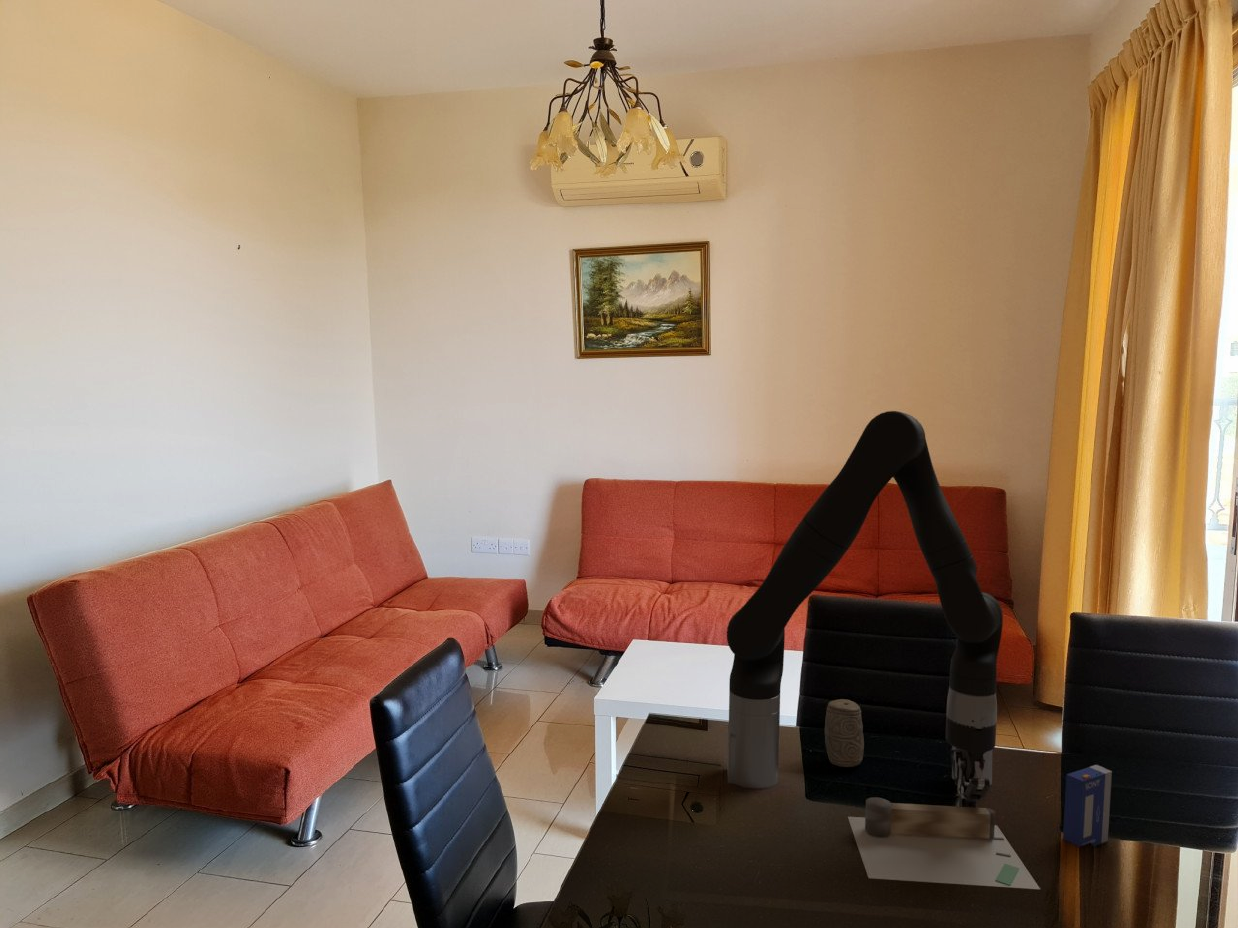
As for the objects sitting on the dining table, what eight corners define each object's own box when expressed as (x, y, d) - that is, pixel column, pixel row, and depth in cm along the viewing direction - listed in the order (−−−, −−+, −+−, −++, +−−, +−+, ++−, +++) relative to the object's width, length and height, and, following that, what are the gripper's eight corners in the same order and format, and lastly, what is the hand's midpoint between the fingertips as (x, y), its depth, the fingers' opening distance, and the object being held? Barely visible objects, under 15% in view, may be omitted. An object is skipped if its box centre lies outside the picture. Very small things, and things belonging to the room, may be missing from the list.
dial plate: (868, 884, 122) (868, 876, 122) (847, 822, 140) (847, 815, 140) (1040, 895, 120) (1040, 887, 120) (996, 830, 138) (997, 824, 138)
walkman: (1078, 852, 131) (1083, 779, 130) (1062, 844, 134) (1066, 771, 133) (1109, 840, 135) (1113, 768, 134) (1092, 832, 137) (1096, 762, 136)
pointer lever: (867, 835, 133) (868, 808, 133) (862, 822, 137) (863, 796, 137) (998, 843, 131) (999, 815, 131) (989, 830, 135) (990, 803, 135)
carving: (830, 753, 167) (832, 694, 166) (868, 762, 163) (870, 702, 162) (818, 764, 162) (820, 703, 161) (856, 774, 158) (858, 712, 157)
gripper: (936, 700, 143) (932, 797, 145) (959, 730, 130) (955, 837, 131) (981, 702, 143) (977, 800, 144) (1010, 733, 129) (1005, 840, 131)
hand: (966, 818), depth 138 cm, fingers closed
